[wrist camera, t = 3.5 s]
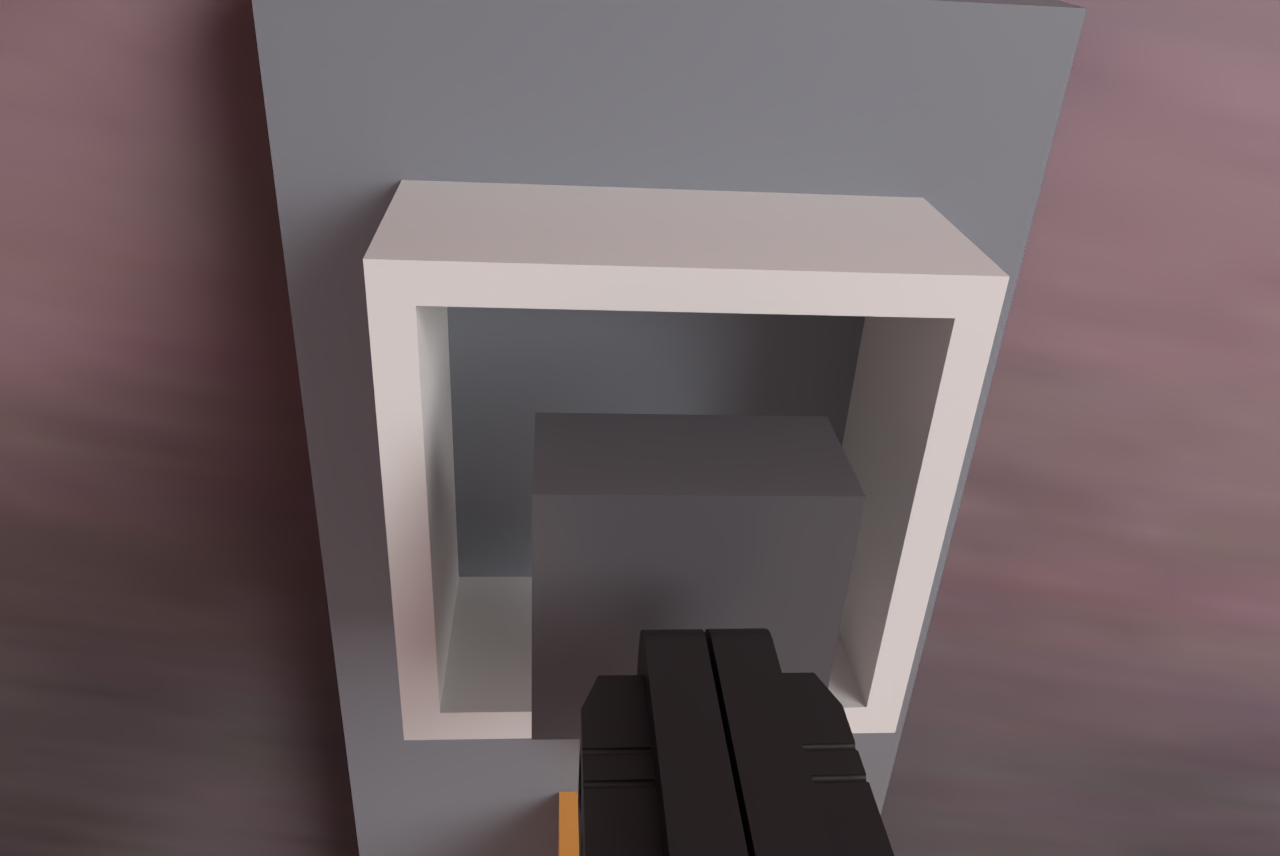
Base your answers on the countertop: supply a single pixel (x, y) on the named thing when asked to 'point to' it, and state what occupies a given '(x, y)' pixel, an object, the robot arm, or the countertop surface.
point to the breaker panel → (628, 318)
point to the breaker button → (682, 542)
